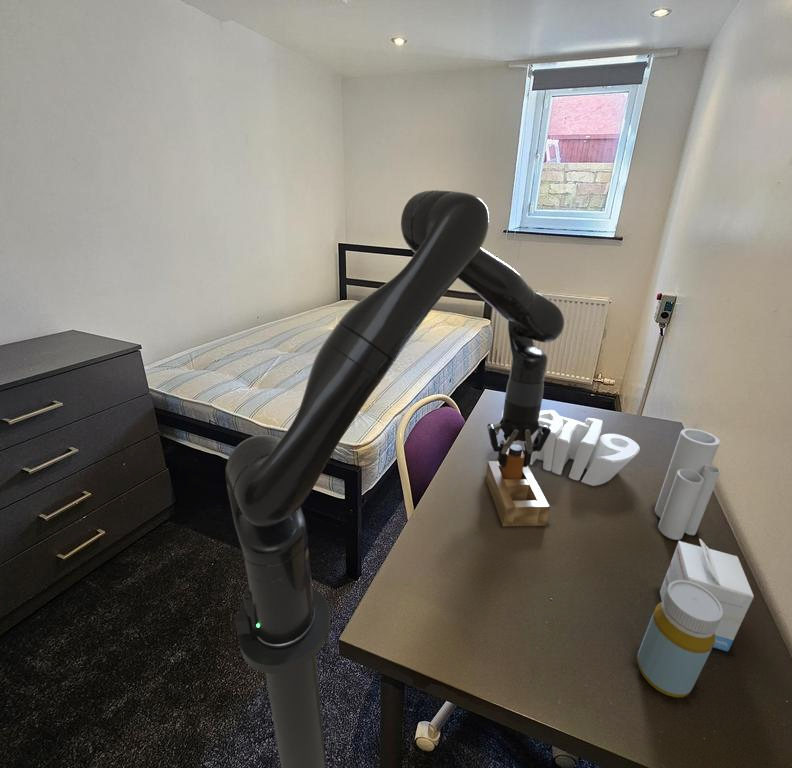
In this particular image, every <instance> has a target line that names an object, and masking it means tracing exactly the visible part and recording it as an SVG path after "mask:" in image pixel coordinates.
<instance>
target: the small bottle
mask: <svg viewBox="0 0 792 768" xmlns="http://www.w3.org/2000/svg"><path fill="white" fill-rule="evenodd" d="M506 453H507V458H506V465H505V467H503V470H502V476H503V479H521V477H522V471H523V465H524V459H525V453H524V452H523V451H522V447H521V446H520V445H517V444H512V445H511V446H510V447H509V448H508V450H507V452H506Z"/></svg>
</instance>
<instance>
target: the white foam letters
mask: <svg viewBox="0 0 792 768" xmlns="http://www.w3.org/2000/svg"><path fill="white" fill-rule="evenodd" d="M503 411H504V409H503V410H502V412H501V419H502V418H503ZM538 423H539V424H544V423H545V424H547V426H548V427H549V428H550V430H551V432H550V434H549V436H548V438H547V440H546V441H545V443H544V445H543V447H542V449H541V451H539V452H538V451H534V452H533V453H532V455H531V461H530V464H529V465H530V466H533V465H534V462H535V461H536V460H539V461H543V463H542V469H543V470H545V471H548V472H552V473H553V474H556V475H559V476H562V473H563V469H564V467H565V465H566V464H567V462H568V461H569V460H573V463H572V466H571V468H570V471H569V474H568V478H569V479H571V480H575V481H580V482H581V483H583V484H586V485H589V486H593V487H595V486H600V485H603V484H606V483H608V482H609V481H610V480H612V479H613V478H614V477H615V476H616V475H617V474H618V473H619V472H620V471H621V470H622V469H623V468H624V467H626V465H628V463H629V462H631V460H633V459H634V458H635V457H636V455H637V454H639V452H640V446H639V444H638V443H637V442H636V441H635V440H633V439H631V438H630V437H627V436H624V435H622V434H618V433H605V434H602V435H601V432H602V427H603V420H602V419H599V418H593V417H587V418H586V419H585V421H584V422H583V421H580V420H576V419H574V418H569V417H566V416H562V415H560V414H559V413H558V412H557V411H556V410H554V409H540V415H539V419H538ZM537 433H538V430H537V431H536V432H535V433H534V434H533V435H532V436H531V440H532V443H533V441H534V439H535V437H536V435H537ZM512 444H517V445H520V446H521V447H522V451H523V449H525V447H524V442H523V441H519V440H518V441H513V443H512ZM585 469H586V472H585V473H584V471H585ZM583 473H584V476H582V475H583ZM581 477H582V480H581Z"/></svg>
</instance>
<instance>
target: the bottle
mask: <svg viewBox="0 0 792 768" xmlns="http://www.w3.org/2000/svg"><path fill="white" fill-rule="evenodd" d="M722 616H723V609H722V606H721V604H720V602H719V601H718V600H717V598H716V597H715V596H714V595H713V594H712V593H710V592H709V591H708V590H706V589H705V588H703V587H702V586H700V585H698V584H696V583H693V582H690V581H686V580H675V581H673V582H671V583H670V584H669V585H668V587H667V589H666V592H665V595H664V598H663V601H662V600H661V601H660V602H659V603H658V604H657V605H656V606H655V608H654V610H653V613H652V615H651V617H650V620H649V623H648V625H647V628H646V631H645V634H644V637H643V639H642V641H641V643H640V647H639V649H638V651H637V656H636V663H637V668H638V669H639V671H640V674H641V675H642V677H643V678H644V679H645V680H646V681H647V682H648V684H649V685H650V686H652V687H653V689H654V688H655V690H656V691H658V692H660V693H662V694H663V695H666V696H669V697H672V698H685V697H686V696H689V694H690V693H691V692H692V690H693V688H694V687H695V684H696V682H697V680H698V678H699V677H700V675H701V672H702V670H703V668H704V666H705V664H706V662H707V660H708V659H709V656H710V654H711V652H712V650H713V648H714V647H713V646H714V643H715V631H716V629H717V627H718V625H719V623H720V621H721V619H722Z"/></svg>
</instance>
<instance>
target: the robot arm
mask: <svg viewBox="0 0 792 768" xmlns="http://www.w3.org/2000/svg"><path fill="white" fill-rule="evenodd" d="M489 225H490V216H489V209H488V207H487V205H486V204H485V203H484V201H483V200H482V199H481V197H480V198H479V197H478V196H476V195H474V194H471V193H467V192H462V191H455V190H454V191H451V190H438V189H437V190H435V189H433V190H424V191H421V192H417V193H416V194H414V195H413V196H411V198H410V199H408V201H407V203H405V205H404V207H403V210H402V212H401V216H400V230H401V235H402V237H403V240H404V242H405V243H406V245H407V247H409V249H410V250H411V251H412V252H413V253H414V254H413V255H412V257H411V259H410V260H409V261H408V263H407V264H406V265H405V266H404V267H403V268H402V269H401V270H400V271H399V272H398V273H397V274H396V275H395V276H394V277H392V278H391V279H390V280H389V281H387V282H386V283H385V284H383V285H382V286H380V287H378V288H377V289H375V290H374V291H372V292H371V293H369V294H368V295H367V296H365V297H364V298H361V300H359V301H358V302H357V303H356V304H354V305H353V306H351V307H350V308H349V309H348V310H347V311H346V312H345V314H344V315H343V316H342V317H341V318H340V320H339V321H338V323H337V324H336V325H335V326H334V328H333V329H332V330H331V332H330V333H329V335H328V336H327V338H326V339H325V341H324V342H323V343H322V345H321V346H320V348H319V350H318V352H317V354H316V356H315V357H314V360H313V363H312V366H311V369H310V372H309V375H308V378H307V382H306V384H305V385H306V386H305V390H304V393H303V397H302V400H301V403H300V406H299V408H298V411H297V413H296V415H295V417H294V419H293V421H292V422H291V424H290V426H289V427H288V429H287V431H286V432H285V433H284V434H283V435H282V437H281V438H279V437H277V436H274V435H269V434H259V435H258V434H257V435H254V436H251V437H249V438H247V439H245V440H243V441H241V442H240V443H239V444H238V445H236V446H235V448H234V449H233V450H232V451H231V452H230V455H229V456H228V458H227V461H226V464H225V468H224V469H225V470H224V472H225V473H224V474H225V484H226V490H227V495H228V500H229V504H230V510H231V516H232V519H233V525H234V528H235V532H236V535H237V539H238V542H239V547H240V551H241V556H242V562H243V568H244V573H245V579H246V580H245V581H246V585H247V586H246V588H245V591H244V594H243V598H242V601H241V604H240V607H239V609H238V613H237V614H236V616H235V617H234V619H233V622H232V626H233V628H234V629H235V630H236V632H237V635H238V634H250V636H251V640H257V641H259V642H260V644H262V645H263V646H265V647H267V648H270V649H285V648H289V647H291V646H293V645H295V644H297V643H299V642H300V641H301V640H303V639H304V638H305V637H306V636H307V635H308V633H309V632H310V630H311V629H312V627H313V624H314V620H315V610H314V603H313V593H312V588H313V584H312V573H311V564H310V563H311V562H310V551H309V550H310V549H309V539H308V529H307V521H306V517H305V515H304V512H303V509H302V506H303V504H305V502H306V500H307V499H308V498H309V496H310V494H311V493H312V491H313V489H314V487H315V486H316V484H317V482H318V480H319V478H320V477H321V475H322V473H323V471H324V469H325V468H326V466H327V464H328V462H329V461H330V458H331V456H332V455H333V454H334V452H335V450H336V448H337V447H338V445H339V443H340V442H341V440H342V439H343V437H344V435H345V434H346V433H347V431H348V429H349V428H350V427H351V425H352V423H353V422H354V420H355V419H356V418H357V416H358V415H359V413H360V411H361V410H362V408H363V407H364V405H365V404H366V402H367V401H368V399H369V398H370V397H371V395H372V393H374V391H375V390H376V389H377V387H378V386H379V385H380V384H381V382H382V380H383V379H384V378H385V376H386V375H387V373H388V372H389V371H390V369H391V368H392V366H393V365H394V363H395V362H396V361H397V359H398V358H399V356H400V354H401V353H402V351H403V349H404V348H405V346H406V345H407V344H408V343H409V341H410V340H411V338H412V337H413V335H415V333H416V331H417V330H418V328H419V327H420V326H421V325H422V323H423V322H424V320H425V319H426V318H427V317H428V315H429V314H430V312H431V311H432V309H433V308H434V307H435V305H436V304H437V303H438V302H439V301H440V299H442V297H443V296H444V295H445V293H446V292H447V291H448V290H450V288H451V287H452V285H453V284H454V283H455V282H456V280H457V279H458V280H460V282H462V283H464V284H465V285H466V286H467V287H468V288H469V289H471V290H472V291H473V292H474V293H476V294H477V295H478V296H479V297H480V298H481V299H482V300H484V302H486V303H487V304H488V305H489V306H490V308H492V309H494V310H495V311H496V312H497V313H498V314H499V315H500V316H501V317H503V318H504V319H505V320H507V331H508V339H509V347H510V352H511V362H510V368H509V376H508V381H507V384H506V390H505V395H504V396H505V397H504V403H503V410H504V411H503V410H502V412H503V418H502V417H501V419H500V421H499V423H495V424H493V423H490V422H489V423H488V424H487V426H486V427H487V431H488V436H489V441H490V445H491V447H492V450H493V452H494V453H497V452H498V455H497V461H498V462H499V464H500V465H501V467H505V465H506V458H507V453H506V452H507V450H508V449H509V448H510V446H511V445H512V443H513V441H518V440H519V441H523V442H524V447H525V449H523V452H524V453H525V459H524V465H523V467H527V465H528V466H529V465H531V464H530V461H531V455H532V453H533V452H534V451H538V452H539V451H541V449H542V447H543V445H544V443H545V441H546V440H547V438H548V436H549V434H550V432H551V430H550V428H549V427H548V426H547V424H545V423H544V424H539V423H538V419H539V415H540V410H542V409H541V408H542V402H543V399H544V392H545V378H546V372H547V366H548V355H547V354H546V352H544V351H543V350H541V349H540V348H539V347H537V345H535V342H534V341H536V342H540V343H550V342H553V341H555V340H557V339H558V338H559V337H561V335H562V333H563V331H564V328H565V318H564V314H563V312H562V310H561V309H560V308H559V306H557V305H556V304H555V303H554V302H552V301H551V300H549V299H548V298H546V297H545V296H543V295H542V294H541V293H538V292H537V291H535V290H534V289H533V288H532V287H531V285H530V284H529V283H528V282H527V281H526V280H525V278H524V277H522V276H521V274H520V273H518V272H517V270H515V269H514V268H512V267H511V266H510V265H509V264H507V263H505V262H504V261H502V260H501V259H499V257H496V256H494V255H493V254H491V253H490V252H488V251H487V250H485V249H484V248H482V247H483V245H484V243H485V241H486V238H487V235H488V232H489ZM500 430H501V431H502V432H503V434H502V436H501V439H500V442H498V438H497V436H498V435H499V434H500ZM537 430H538V433H537V435H536V437H535V439H534V441H533V443H532V440H531V436H532V435H533V434H534V433H535V432H536V431H537Z"/></svg>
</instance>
